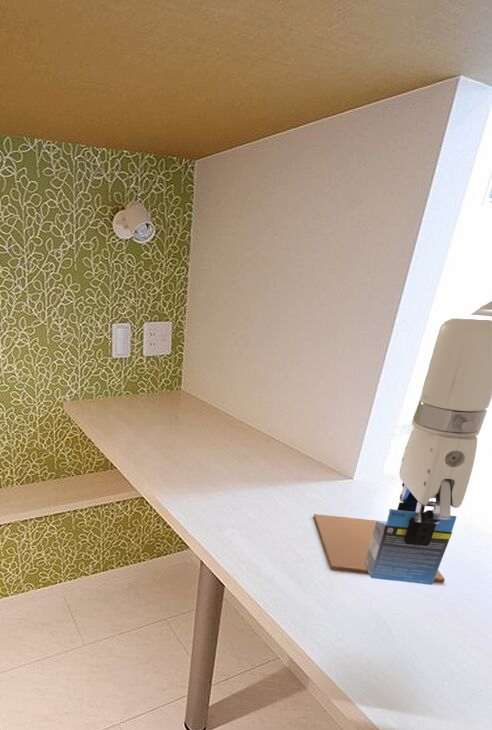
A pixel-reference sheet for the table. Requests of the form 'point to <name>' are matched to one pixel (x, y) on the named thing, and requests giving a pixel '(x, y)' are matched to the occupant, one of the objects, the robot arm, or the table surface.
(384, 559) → the label tape box
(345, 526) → the cork mat
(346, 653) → the table surface
